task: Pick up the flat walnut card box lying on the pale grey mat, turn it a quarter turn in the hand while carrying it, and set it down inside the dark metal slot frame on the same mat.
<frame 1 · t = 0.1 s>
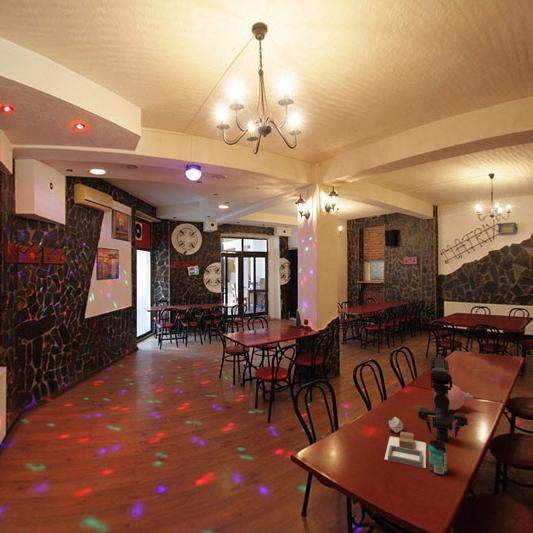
hand: (443, 435, 142), 15 cm above the table, fingers open, 9 cm apart
game die: (396, 432, 176), on the table
balloon: (454, 410, 201), on the table
mat: (406, 451, 157), on the table
card box: (406, 445, 162), point 1 cm above the table, touching mat
beverage can: (438, 472, 141), on the table
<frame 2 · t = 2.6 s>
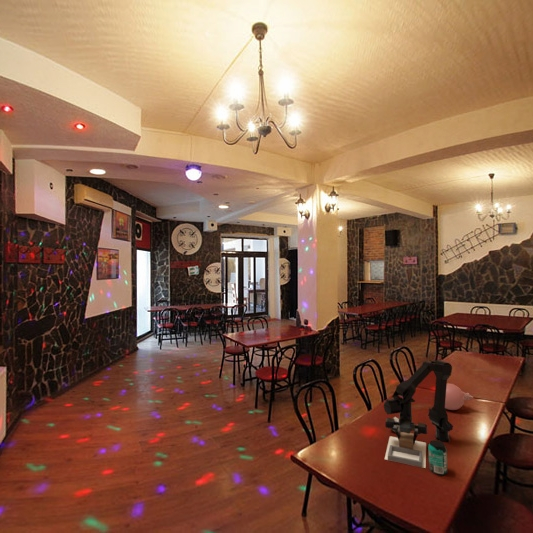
hand: (406, 443, 162), 2 cm above the table, fingers closed on card box, 6 cm apart
card box: (406, 445, 162), point 1 cm above the table, touching gripper, mat
everything else where it was.
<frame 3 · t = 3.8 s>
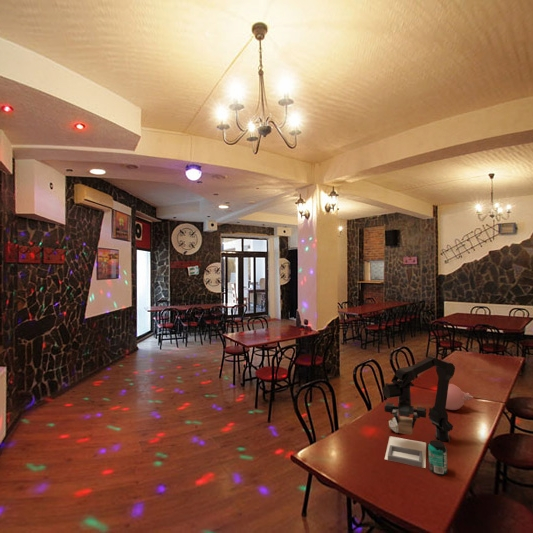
hand: (405, 427, 162), 9 cm above the table, fingers closed on card box, 6 cm apart
card box: (405, 429, 162), point 8 cm above the table, touching gripper
everything else where it was.
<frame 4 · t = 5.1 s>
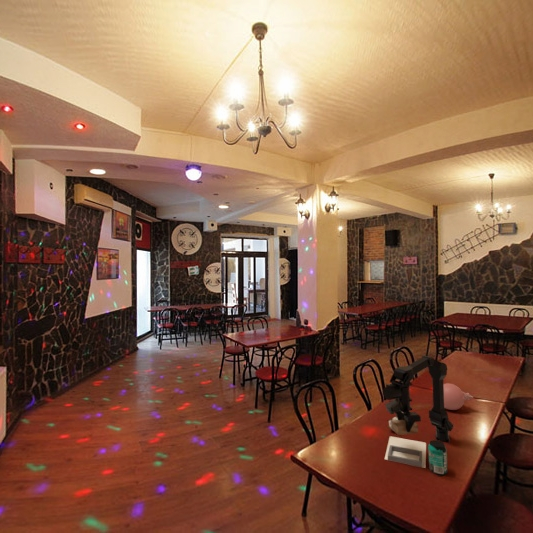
hand: (404, 428, 156), 12 cm above the table, fingers closed on card box, 6 cm apart
card box: (404, 430, 156), point 11 cm above the table, touching gripper
everything else where it was.
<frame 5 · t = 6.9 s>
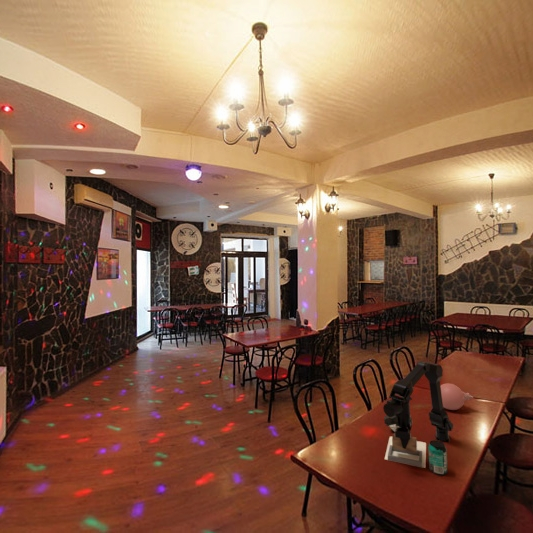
hand: (404, 445, 151), 6 cm above the table, fingers closed on card box, 6 cm apart
card box: (404, 447, 151), point 5 cm above the table, touching gripper
everything else where it was.
when the fingers open (3 cm above the table, at t = 8.0 s): card box drops 2 cm, resting on mat.
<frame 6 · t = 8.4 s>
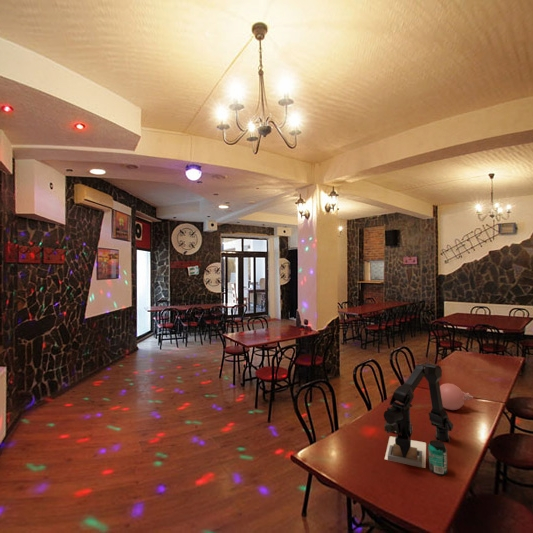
hand: (404, 452, 151), 3 cm above the table, fingers open, 9 cm apart
card box: (405, 457, 151), point 1 cm above the table, touching mat
everything else where it was.
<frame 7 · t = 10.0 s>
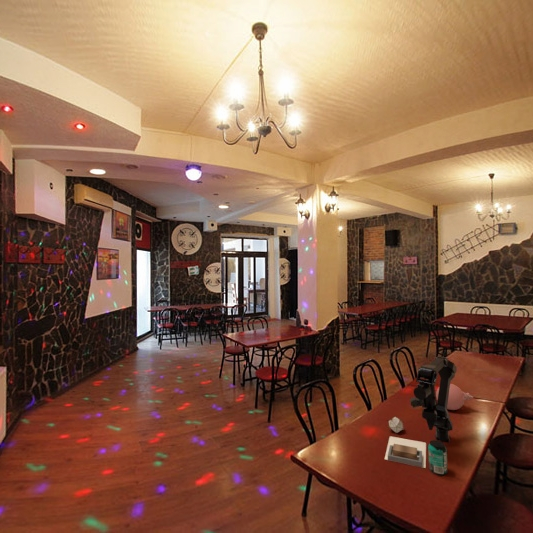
hand: (430, 425, 158), 12 cm above the table, fingers open, 9 cm apart
nothing on the table moved.
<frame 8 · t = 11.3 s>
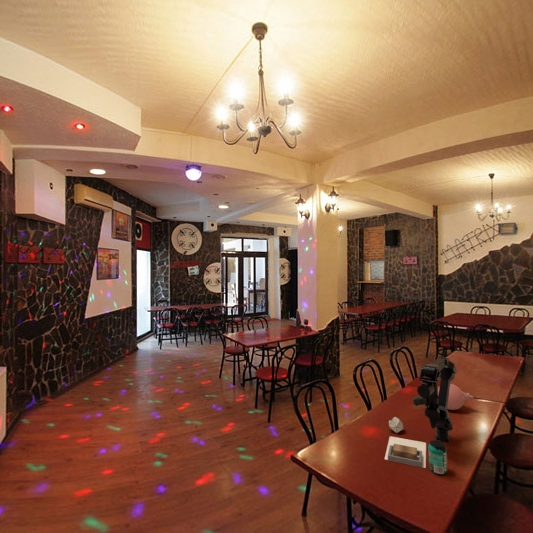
hand: (432, 424, 159), 12 cm above the table, fingers open, 9 cm apart
nothing on the table moved.
at the end: card box 0.1 cm from the target spot, point 0.6 cm above the table; card box tilted 0°; the gripper is holding nothing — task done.
